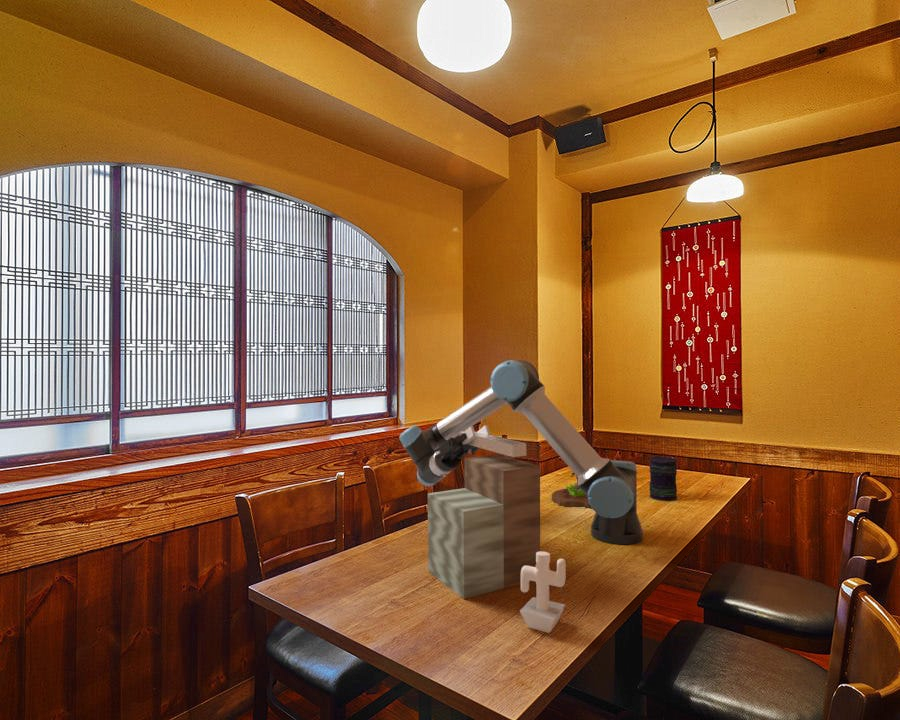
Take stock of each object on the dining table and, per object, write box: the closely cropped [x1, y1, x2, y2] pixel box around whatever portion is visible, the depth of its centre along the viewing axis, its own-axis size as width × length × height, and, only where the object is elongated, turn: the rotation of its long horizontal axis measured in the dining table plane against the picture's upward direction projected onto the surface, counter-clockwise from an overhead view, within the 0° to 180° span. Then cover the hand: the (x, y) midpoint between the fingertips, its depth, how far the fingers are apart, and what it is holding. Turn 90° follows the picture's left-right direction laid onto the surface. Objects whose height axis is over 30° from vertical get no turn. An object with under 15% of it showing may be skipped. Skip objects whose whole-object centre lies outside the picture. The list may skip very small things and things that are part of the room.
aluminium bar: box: [459, 430, 527, 458], centre depth 141 cm, size 26×4×3 cm, turn 29°
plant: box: [551, 472, 592, 509], centre depth 200 cm, size 20×20×11 cm
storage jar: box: [649, 456, 678, 502], centre depth 205 cm, size 10×10×15 cm
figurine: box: [519, 550, 567, 634], centre depth 108 cm, size 7×9×15 cm
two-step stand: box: [427, 453, 541, 600], centre depth 133 cm, size 18×22×28 cm
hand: (480, 430), depth 145 cm, fingers closed on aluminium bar, 4 cm apart
